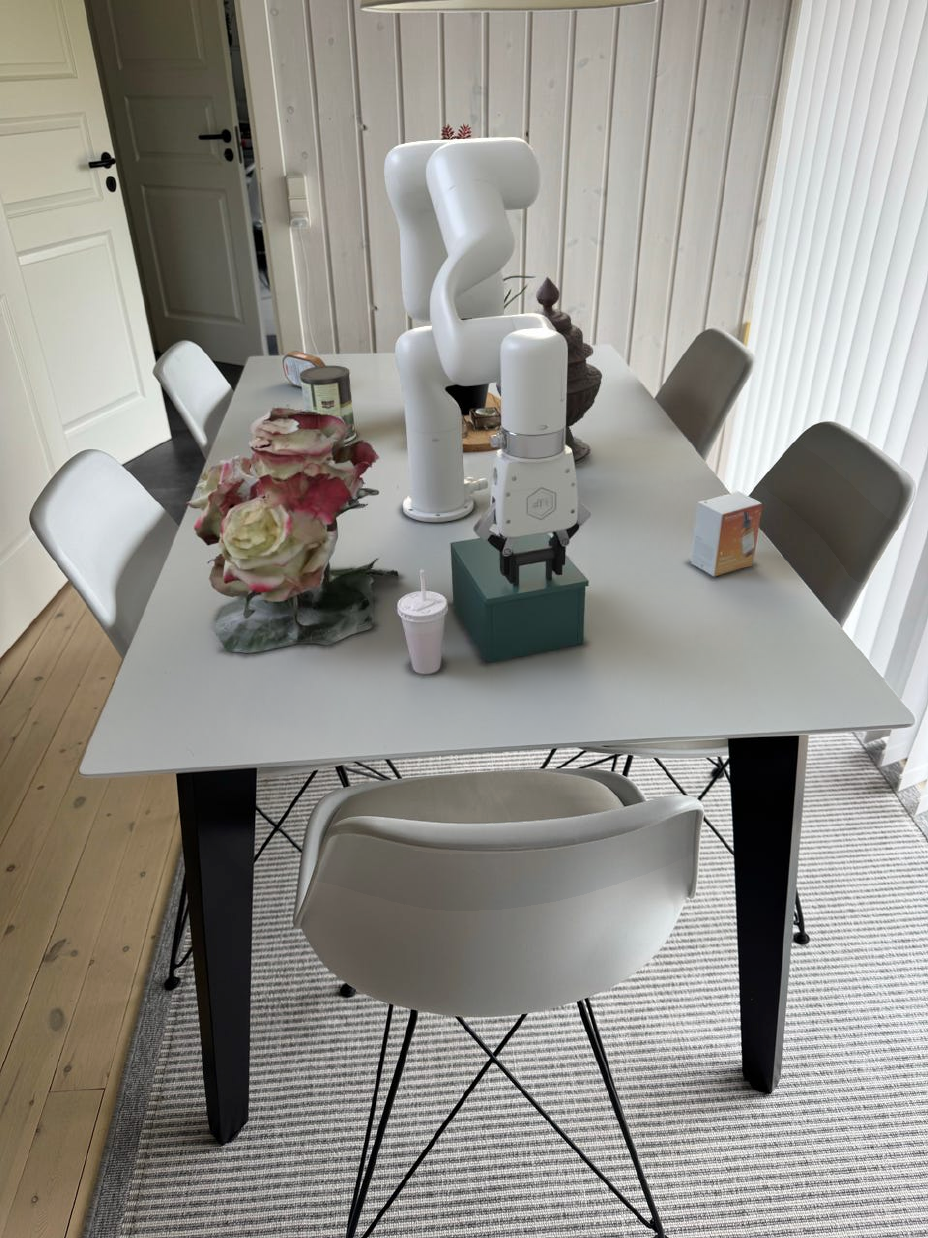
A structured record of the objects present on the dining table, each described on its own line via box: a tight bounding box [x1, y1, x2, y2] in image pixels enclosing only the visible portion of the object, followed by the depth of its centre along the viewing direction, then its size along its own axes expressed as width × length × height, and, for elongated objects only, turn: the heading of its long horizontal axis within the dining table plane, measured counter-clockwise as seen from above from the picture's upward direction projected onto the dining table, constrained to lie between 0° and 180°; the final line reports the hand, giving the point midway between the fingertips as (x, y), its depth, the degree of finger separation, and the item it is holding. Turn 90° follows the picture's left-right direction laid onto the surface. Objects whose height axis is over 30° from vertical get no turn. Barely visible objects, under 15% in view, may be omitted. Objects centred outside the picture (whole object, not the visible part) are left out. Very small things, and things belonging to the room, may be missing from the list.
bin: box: [450, 548, 586, 664], centre depth 125 cm, size 16×14×9 cm
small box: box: [690, 490, 763, 578], centre depth 137 cm, size 8×6×10 cm
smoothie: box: [397, 569, 449, 675], centre depth 115 cm, size 6×6×14 cm
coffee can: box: [300, 365, 357, 444], centre depth 190 cm, size 10×10×14 cm
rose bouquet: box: [185, 404, 400, 654], centre depth 124 cm, size 26×29×30 cm
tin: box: [282, 350, 327, 389], centre depth 223 cm, size 15×3×8 cm, turn 49°
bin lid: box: [450, 533, 590, 604], centre depth 120 cm, size 17×14×5 cm
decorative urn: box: [495, 276, 603, 465], centre depth 171 cm, size 20×20×35 cm
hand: (532, 573), depth 116 cm, fingers closed on bin lid, 5 cm apart
